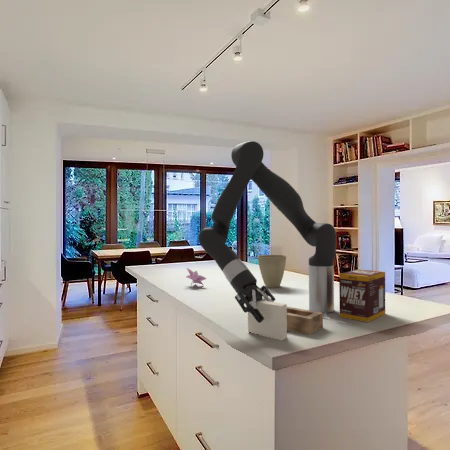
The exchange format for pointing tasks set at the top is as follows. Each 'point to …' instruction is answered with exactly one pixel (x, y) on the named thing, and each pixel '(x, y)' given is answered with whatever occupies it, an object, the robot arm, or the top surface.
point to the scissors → (333, 319)
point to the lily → (195, 277)
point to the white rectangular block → (270, 320)
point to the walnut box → (304, 320)
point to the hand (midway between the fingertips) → (269, 318)
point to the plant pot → (272, 269)
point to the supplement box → (362, 294)
